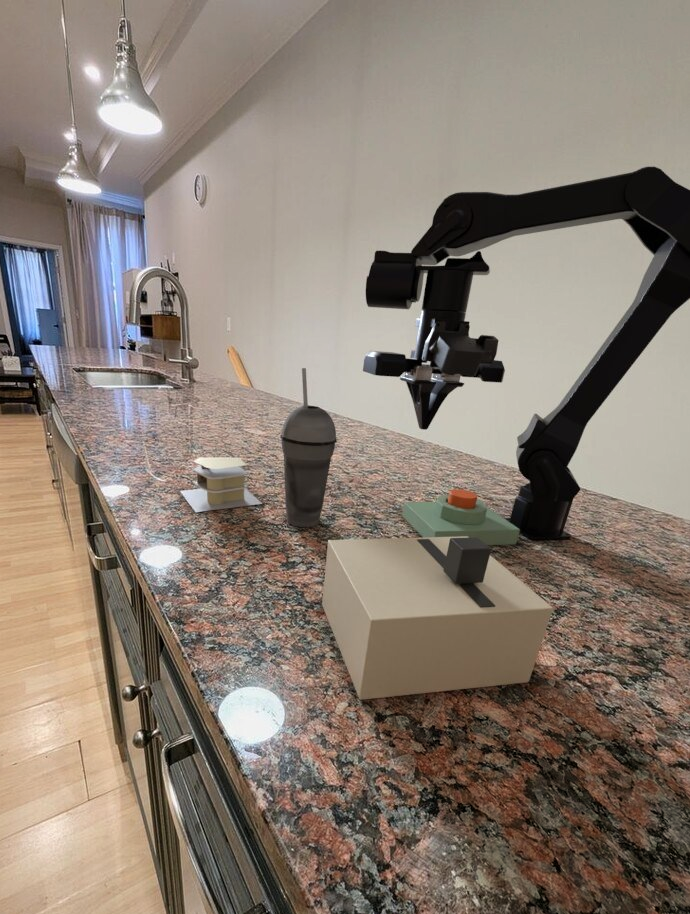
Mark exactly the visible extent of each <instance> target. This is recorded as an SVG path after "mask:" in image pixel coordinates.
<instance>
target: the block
mask: <svg viewBox="0 0 690 914" xmlns="http://www.w3.org/2000/svg"><path fill="white" fill-rule="evenodd" d="M448 498H449V494H442V495H440V496H437V497H436V501H404V502H403V506H402V512H401V513H402V514H401V517H403V519H404V520H406V522H407V523H408V524H409V525H410V526H411V527H412V528H413V529H414V530H415V531H416V532H417V533H418V534H419V535H420V536H421V538H425V537H461V536H468V537H469V538H470V537H477V538H479V539H480V540H481V541H483V542H484V543H485V544H486V545H487V546H503V545H516V544H517V542H518V538H519V535H520V532H519V531H520V529H519V528H517V527H516V526H514V525H513V524H511V523H510V522H508V521H507V520H505V517H504V518H503V516H501V515H499V514H498V513H496V512H495V511H493V510H492V509H491V508H489V507H488V506H487V505H488V504H486V503H484V502H482V501H481V499H480V500H479V499H477V501H476V506H475V508H474V509H464V508H458V507H455V506H452V505H450V504H448Z"/></svg>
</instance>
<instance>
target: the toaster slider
mask: <svg viewBox="0 0 690 914" xmlns="http://www.w3.org/2000/svg"><path fill="white" fill-rule="evenodd" d="M491 552H492V548H491V547H490V545H486V544H485V543H484V542H483V541H481V540H480V539H479V538H477V537H470V538H450V541H449V546H448V551H447V556H446V560H445V565H444V570H443V571H444V572H445V574H446V575H447V576H448V577H449V578H450V579H451V580H452V581H453V582H454V583H455V584H465V583H482V582H483V580H484V576H485V572H486V568H487V564H488V560H489V556H490V555H491Z"/></svg>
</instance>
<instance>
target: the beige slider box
mask: <svg viewBox="0 0 690 914" xmlns="http://www.w3.org/2000/svg"><path fill="white" fill-rule="evenodd" d="M450 538H469V537H468V536H461V537H425V538H423V537H396V538H395V537H393V538H363V539H362V538H361V539H360V538H358V539H357V538H356V539H355V538H353V539H352V538H351V539H328V541H327V549H326V559H325V569H324V570H325V571H324V581H323V590H322V591H323V592H322V601H321V605H322V608H323V610H324V613H325V616H326V618H327V620H328V624H329V626H330V628H331V631H332V633H333V636H334V639H335V641H336V644H337V646H338V649H339V651H340V654H341V656H342V659H343V661H344V664H345V666H346V669H347V672H348V674H349V677H350V679H351V682H352V684H353V687H354V689H355V692H356V694H357V697H358V699H359V700H360V701H363V700H373V699H381V698H391V697H401V696H411V695H419V694H429V693H439V692H449V691H457V690H465V689H466V690H467V689H477V688H486V687H496V686H505V685H515V684H516V685H517V684H526V683H529V682H530V680H531V676H532V674H533V671H534V667H535V664H536V662H537V659H538V655H539V652H540V651H541V650H540V649H541V646H542V643H543V640H544V637H545V634H546V632H547V628H548V626H549V624H550V623H549V622H550V620H551V618H552V614H553V611H554V607H553V606H551V605H550V604H549V602H547V601H545V600H544V599H543V598H542V597H541V596H539V595H538V594H537V593H536V592H535V591H534V590H532V589H531V588H530V587H529V586H528V585H526V584H525V583H524V582H523V581H522V580H521V579H519V577H517V576H516V575H514V574H513V573H512V572H511V571H510V570H509V569H508V568H506V567H505V566H504V565H503V564H502V563H500V561H498V560H496V559H495V558H494V557H493V555H491V554H490V556H489V560H488V564H487V568H486V572H485V576H484V580H483V582H482V583H465V584H455V583H454V582H453V581H452V580H451V579H450V578H449V577H448V576H447V575H446V574H445V572H444V571H443V570H444V565H445V560H446V556H447V551H448V546H449V541H450Z"/></svg>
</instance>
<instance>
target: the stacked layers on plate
mask: <svg viewBox="0 0 690 914" xmlns="http://www.w3.org/2000/svg"><path fill="white" fill-rule="evenodd" d="M193 462H194V463H196V464H198V466H197V467H195V468H193V472H194V473H195V474H196V481H194V482H193V484H194V486H196V487H197V488H194V489H193V488H192V489H184V490H183V489H182V490H179V492H180V493H181V495H182V496H183V498H184V499H185V500H186V501H187V503H188V505H189V506H190V507H191V509H192V510H193V511H194V513H201V512H207V511H208V512H209V511H216V510H223V509H225V510H226V509H232V508H233V509H234V508H241V507H247V506H255V505H263V503H262V502H261V501H260V500H259V499H258V498H257V497H256V496H255V495H254V494H252V493H251V491H249V490H248V485H247V484H246V483H245V482H246V481H245V479H246V477H245V476H248V472H247V471H246V470H245V469H244V468H243V466H248V463H246V462H245V461H244V460H242V459H241V458H240V457H219V456H218V457H213V456H211V457H209V456H207V457H198V458H196V459H194V460H193Z"/></svg>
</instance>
